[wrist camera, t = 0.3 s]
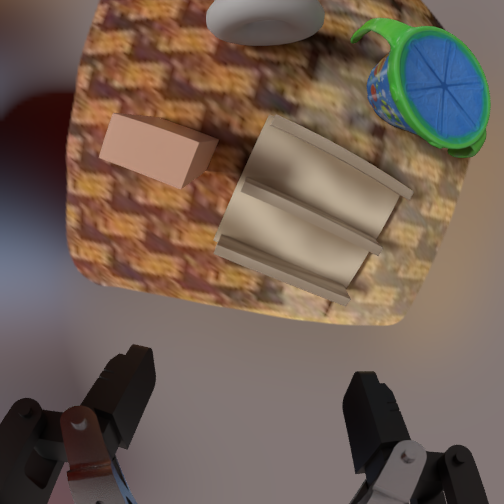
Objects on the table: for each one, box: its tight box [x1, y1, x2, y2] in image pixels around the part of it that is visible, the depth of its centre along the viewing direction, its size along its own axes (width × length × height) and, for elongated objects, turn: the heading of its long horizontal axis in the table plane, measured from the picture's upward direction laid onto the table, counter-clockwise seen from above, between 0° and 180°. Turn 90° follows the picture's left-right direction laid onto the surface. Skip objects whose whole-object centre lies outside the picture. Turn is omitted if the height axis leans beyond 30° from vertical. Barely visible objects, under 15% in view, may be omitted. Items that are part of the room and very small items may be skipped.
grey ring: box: [206, 0, 325, 46], centre depth 18 cm, size 10×4×10 cm, turn 94°
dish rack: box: [214, 115, 414, 306], centre depth 28 cm, size 14×16×4 cm
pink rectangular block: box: [99, 113, 219, 189], centre depth 23 cm, size 4×7×10 cm, turn 66°
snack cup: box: [351, 18, 490, 158], centre depth 19 cm, size 16×10×10 cm
